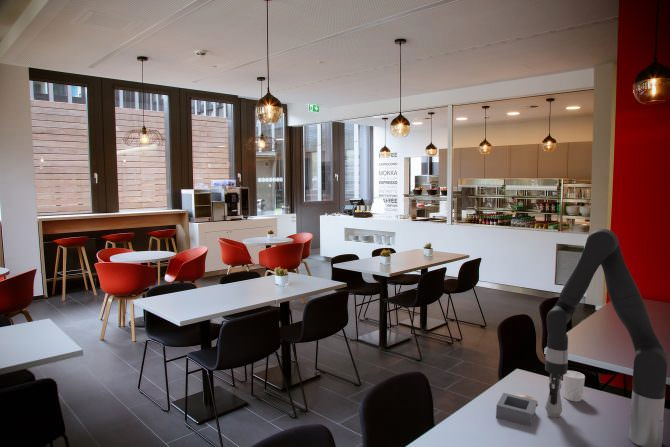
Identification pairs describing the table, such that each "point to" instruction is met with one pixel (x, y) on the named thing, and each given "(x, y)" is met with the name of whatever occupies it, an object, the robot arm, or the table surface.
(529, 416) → the well
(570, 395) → the white cup
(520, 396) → the cork coaster
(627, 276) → the robot arm
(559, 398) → the salt shaker
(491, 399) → the table surface
